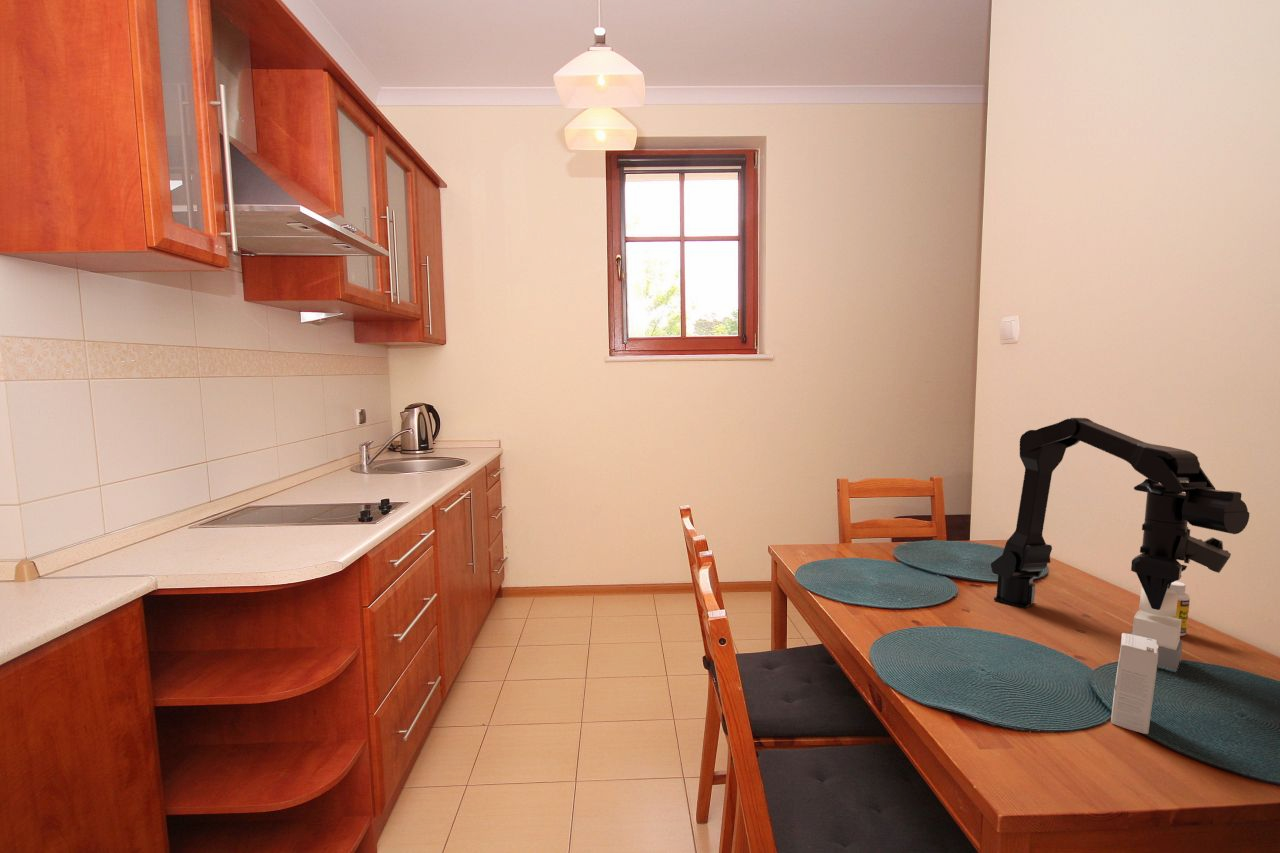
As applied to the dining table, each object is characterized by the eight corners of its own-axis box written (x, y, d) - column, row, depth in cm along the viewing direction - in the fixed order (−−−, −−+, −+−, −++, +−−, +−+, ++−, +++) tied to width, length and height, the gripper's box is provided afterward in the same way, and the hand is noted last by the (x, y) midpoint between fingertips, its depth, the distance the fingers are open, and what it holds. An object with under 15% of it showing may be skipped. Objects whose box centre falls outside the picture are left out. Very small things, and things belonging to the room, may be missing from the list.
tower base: (1124, 660, 108) (1126, 638, 108) (1131, 649, 113) (1132, 628, 113) (1176, 674, 103) (1178, 651, 103) (1180, 662, 108) (1182, 641, 108)
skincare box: (1112, 708, 91) (1118, 630, 90) (1151, 719, 88) (1158, 639, 87) (1110, 725, 86) (1117, 643, 85) (1151, 737, 83) (1159, 652, 82)
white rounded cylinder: (1137, 610, 107) (1139, 588, 107) (1141, 604, 111) (1143, 583, 111) (1174, 619, 104) (1176, 596, 104) (1177, 612, 107) (1179, 590, 107)
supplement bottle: (1181, 639, 118) (1185, 588, 117) (1145, 629, 122) (1150, 580, 122) (1190, 633, 121) (1195, 584, 120) (1155, 624, 125) (1159, 576, 125)
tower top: (1131, 639, 108) (1133, 617, 107) (1136, 630, 112) (1138, 609, 111) (1176, 650, 103) (1178, 628, 103) (1179, 641, 107) (1181, 619, 107)
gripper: (1225, 537, 94) (1215, 634, 95) (1232, 521, 107) (1223, 607, 108) (1134, 524, 102) (1126, 613, 103) (1151, 510, 115) (1143, 590, 116)
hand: (1157, 605), depth 107 cm, fingers closed on white rounded cylinder, 5 cm apart
